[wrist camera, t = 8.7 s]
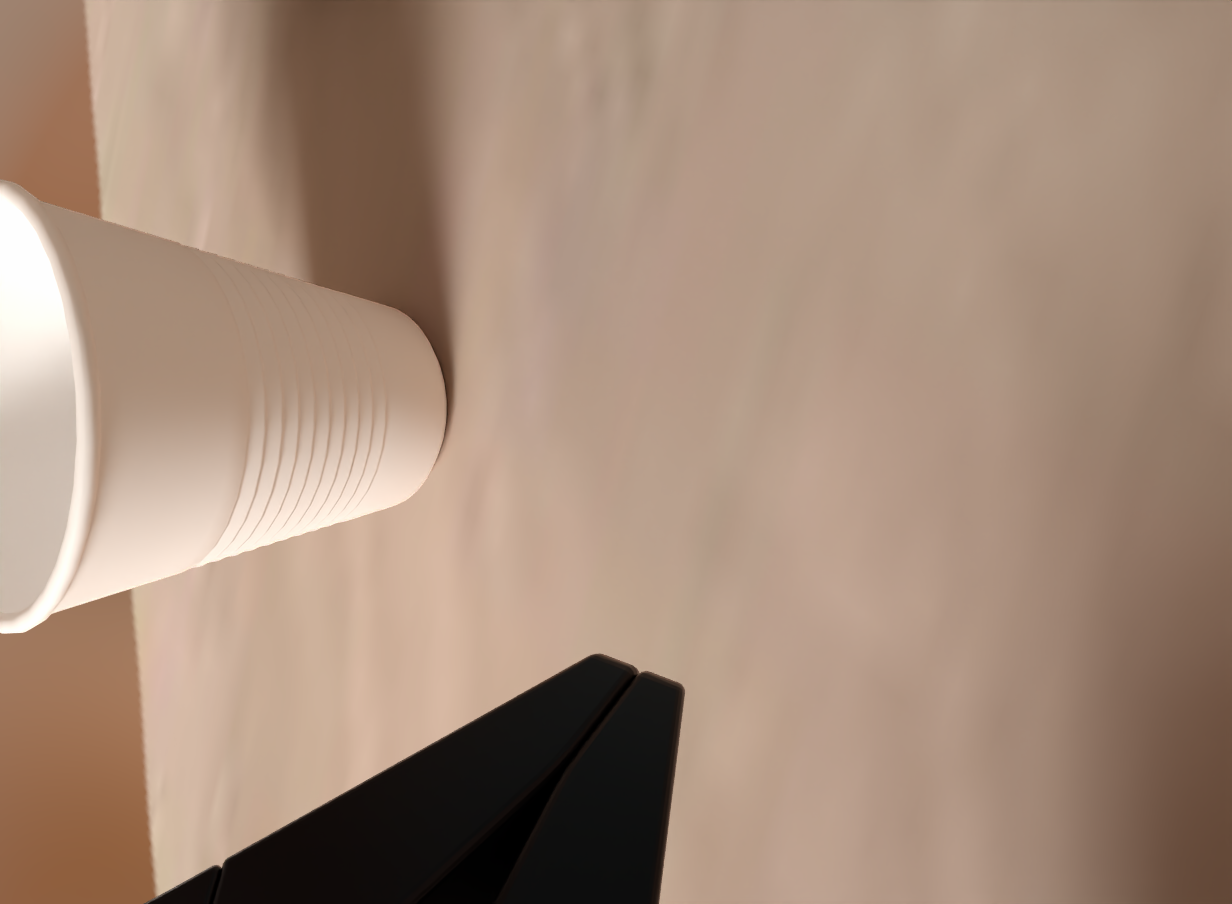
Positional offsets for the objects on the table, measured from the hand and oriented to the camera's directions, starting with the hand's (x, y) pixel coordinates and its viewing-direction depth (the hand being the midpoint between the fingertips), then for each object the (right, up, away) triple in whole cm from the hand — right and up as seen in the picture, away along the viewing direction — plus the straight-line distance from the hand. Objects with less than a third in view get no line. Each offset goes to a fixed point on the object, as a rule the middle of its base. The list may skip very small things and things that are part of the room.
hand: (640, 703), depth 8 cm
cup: (-7, +4, +21) cm, 23 cm away
